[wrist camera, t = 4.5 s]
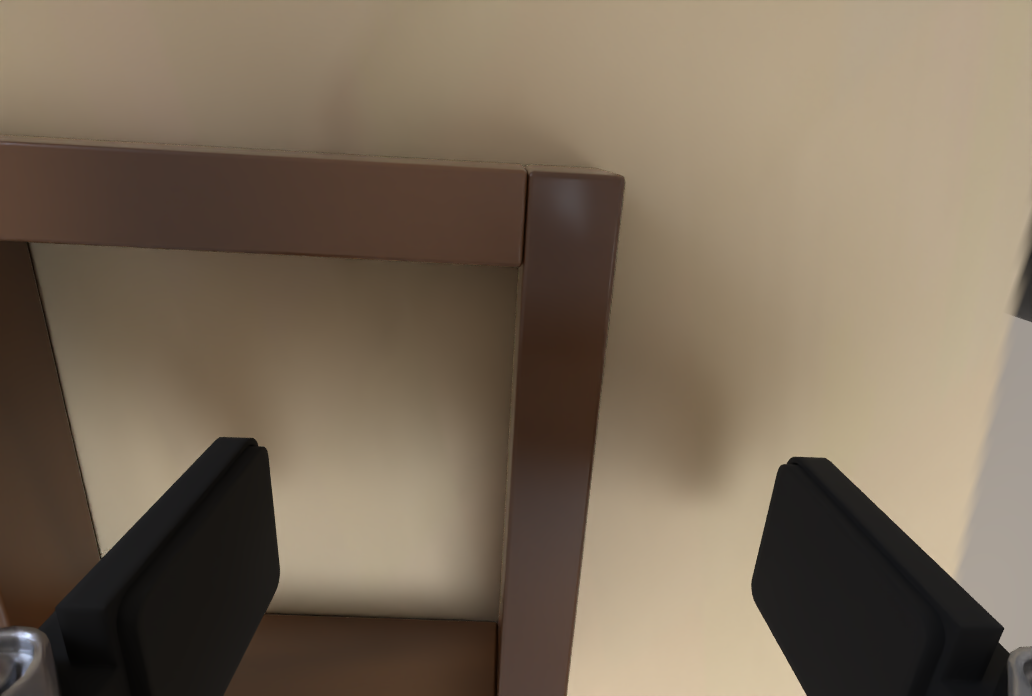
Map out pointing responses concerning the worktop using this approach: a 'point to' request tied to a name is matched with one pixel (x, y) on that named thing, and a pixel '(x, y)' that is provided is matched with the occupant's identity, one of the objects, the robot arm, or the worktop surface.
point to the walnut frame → (334, 234)
